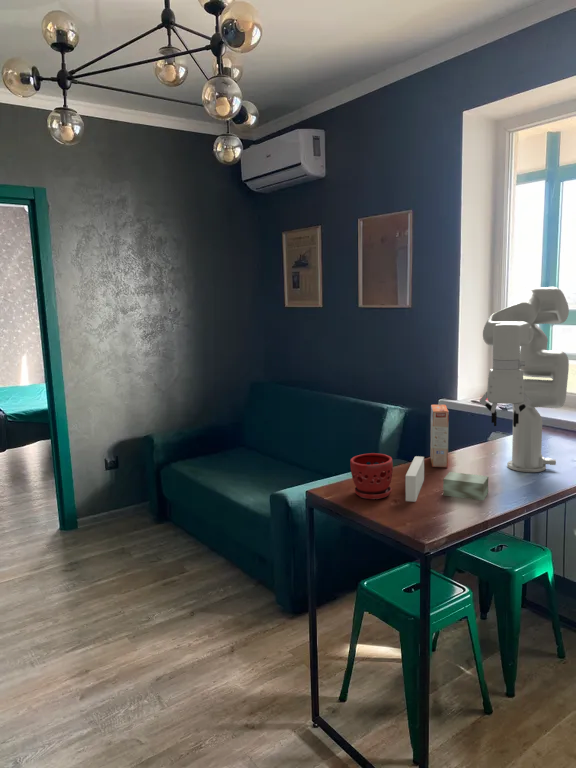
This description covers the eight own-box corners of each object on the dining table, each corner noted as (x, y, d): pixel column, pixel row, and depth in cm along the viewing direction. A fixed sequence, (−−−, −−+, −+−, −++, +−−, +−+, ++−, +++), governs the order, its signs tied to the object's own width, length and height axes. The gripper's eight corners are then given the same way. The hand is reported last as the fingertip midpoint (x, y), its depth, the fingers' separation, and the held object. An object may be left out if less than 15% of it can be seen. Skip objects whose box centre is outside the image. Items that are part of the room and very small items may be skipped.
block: (488, 493, 178) (488, 476, 177) (483, 501, 171) (483, 483, 171) (449, 488, 184) (449, 471, 183) (443, 496, 177) (443, 479, 176)
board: (424, 479, 193) (424, 456, 192) (415, 501, 172) (415, 476, 171) (415, 479, 194) (415, 456, 193) (405, 500, 173) (405, 475, 172)
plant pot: (367, 485, 189) (366, 450, 187) (401, 493, 180) (400, 456, 178) (342, 496, 180) (341, 459, 178) (377, 505, 171) (376, 466, 169)
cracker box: (449, 468, 205) (449, 411, 202) (431, 467, 206) (431, 411, 203) (446, 457, 218) (446, 403, 215) (430, 457, 219) (430, 403, 216)
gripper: (536, 364, 169) (534, 424, 171) (476, 363, 174) (475, 421, 177) (538, 367, 162) (536, 429, 164) (475, 366, 168) (474, 427, 170)
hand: (504, 424), depth 171 cm, fingers open, 4 cm apart
